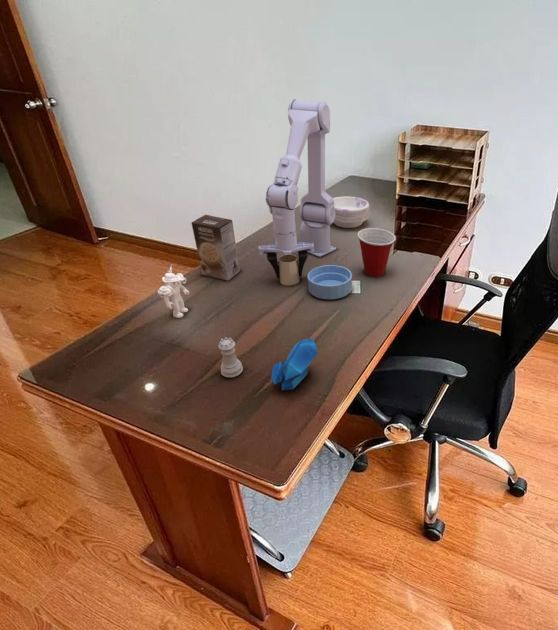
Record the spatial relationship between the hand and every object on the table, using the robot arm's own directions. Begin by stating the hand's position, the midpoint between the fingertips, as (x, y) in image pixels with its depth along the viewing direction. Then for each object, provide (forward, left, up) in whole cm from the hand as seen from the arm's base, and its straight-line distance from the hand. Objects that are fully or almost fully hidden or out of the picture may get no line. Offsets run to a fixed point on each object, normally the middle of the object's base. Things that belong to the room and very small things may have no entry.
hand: (289, 275), depth 123 cm
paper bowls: (-16, +43, -2) cm, 46 cm away
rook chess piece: (+20, -34, -2) cm, 40 cm away
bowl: (+12, +4, -2) cm, 13 cm away
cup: (0, 0, -2) cm, 2 cm away
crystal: (+32, -27, -2) cm, 42 cm away
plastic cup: (+15, +20, -2) cm, 25 cm away
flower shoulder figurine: (-8, -29, -2) cm, 30 cm away
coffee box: (-18, -10, -2) cm, 21 cm away
